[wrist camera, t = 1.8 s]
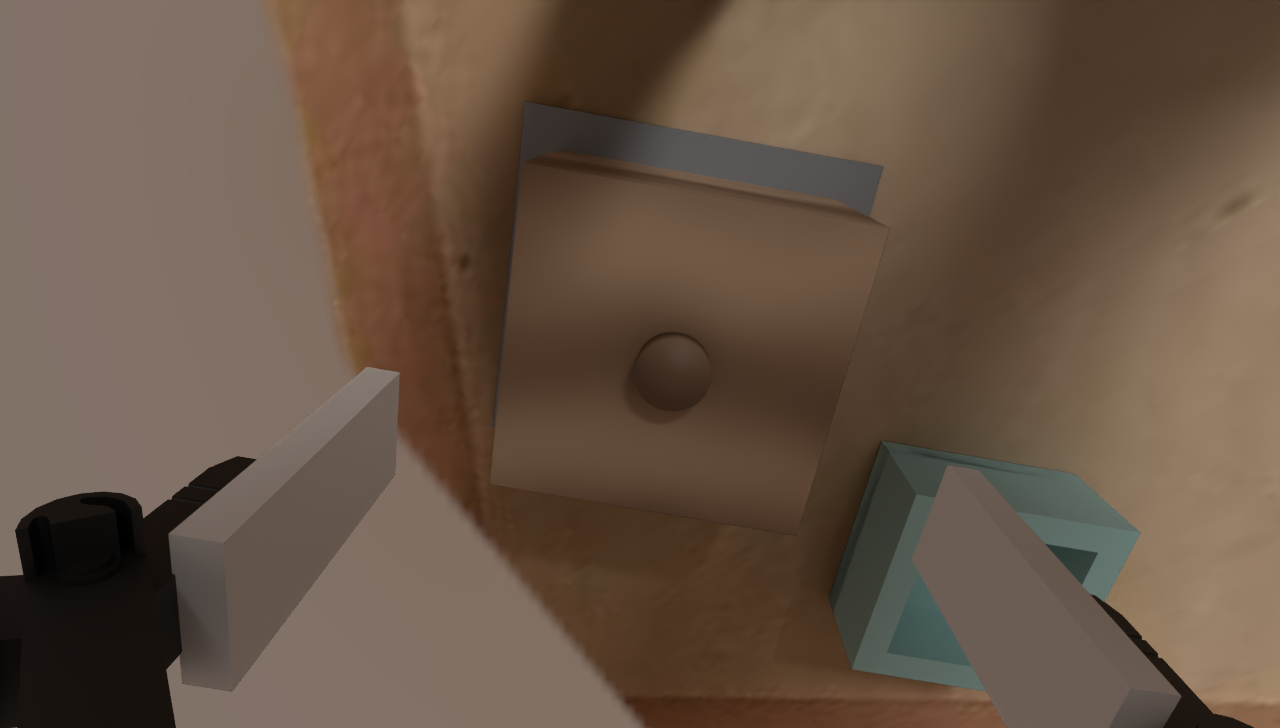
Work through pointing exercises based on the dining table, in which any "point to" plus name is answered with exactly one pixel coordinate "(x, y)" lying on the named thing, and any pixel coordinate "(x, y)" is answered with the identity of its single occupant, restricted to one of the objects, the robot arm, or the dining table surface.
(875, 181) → the mat
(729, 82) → the dining table surface
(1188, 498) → the dining table surface
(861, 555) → the open square box
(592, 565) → the dining table surface
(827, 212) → the lid
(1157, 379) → the dining table surface
